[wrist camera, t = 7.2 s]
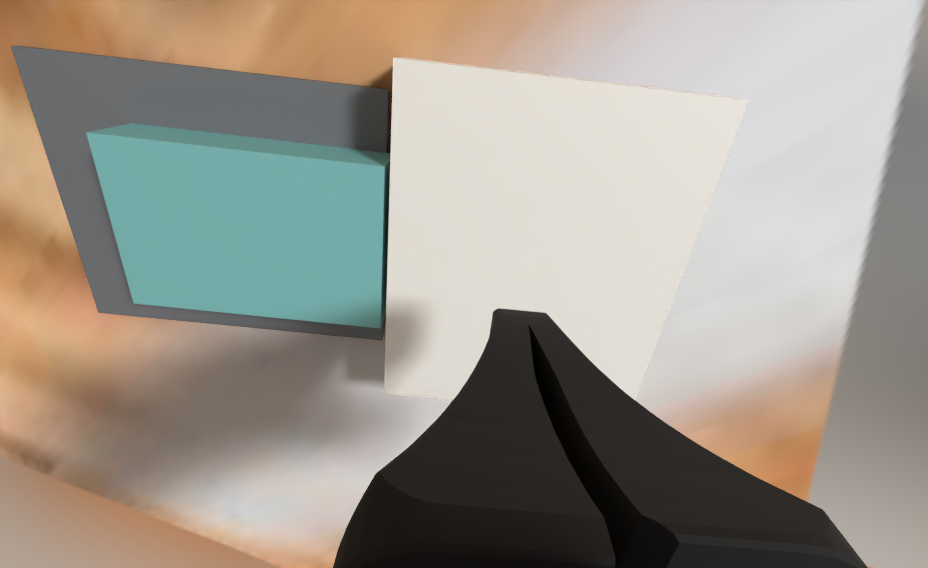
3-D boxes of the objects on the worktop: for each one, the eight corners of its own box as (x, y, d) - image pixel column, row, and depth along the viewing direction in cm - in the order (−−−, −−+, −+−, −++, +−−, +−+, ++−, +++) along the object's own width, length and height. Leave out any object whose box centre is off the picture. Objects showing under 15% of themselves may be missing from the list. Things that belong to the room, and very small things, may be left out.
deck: (611, 376, 20) (629, 416, 18) (393, 355, 20) (383, 393, 18) (706, 93, 15) (748, 100, 12) (405, 57, 14) (393, 57, 12)
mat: (383, 336, 19) (381, 340, 19) (104, 309, 19) (98, 312, 19) (389, 89, 15) (387, 89, 14) (19, 45, 14) (11, 45, 14)
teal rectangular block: (389, 301, 18) (380, 328, 16) (167, 278, 18) (133, 303, 16) (394, 153, 15) (384, 166, 14) (131, 123, 15) (86, 132, 13)
